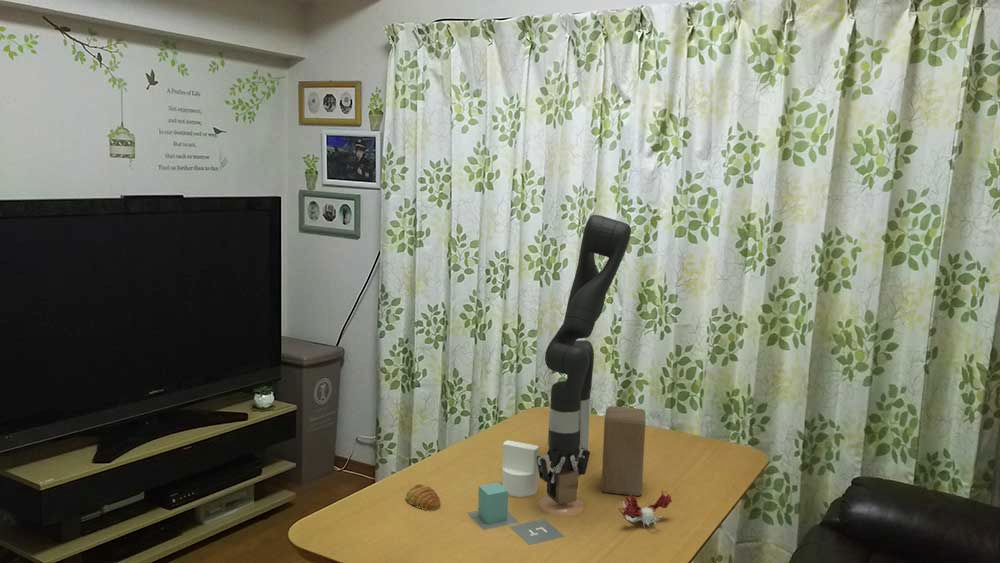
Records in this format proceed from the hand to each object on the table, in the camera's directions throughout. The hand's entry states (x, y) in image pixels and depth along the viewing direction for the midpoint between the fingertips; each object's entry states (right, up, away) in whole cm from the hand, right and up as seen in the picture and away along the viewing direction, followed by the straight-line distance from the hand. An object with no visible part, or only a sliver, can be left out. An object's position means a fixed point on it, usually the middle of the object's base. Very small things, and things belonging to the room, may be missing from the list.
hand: (562, 493), depth 172 cm
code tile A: (-7, -5, -13) cm, 15 cm away
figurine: (+18, -5, -6) cm, 19 cm away
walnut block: (0, -1, 0) cm, 1 cm away
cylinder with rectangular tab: (-10, -2, +9) cm, 13 cm away
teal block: (-17, -3, -7) cm, 18 cm away
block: (+16, -2, +12) cm, 21 cm away
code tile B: (-17, -4, -7) cm, 18 cm away
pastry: (-33, -3, +1) cm, 33 cm away
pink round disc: (0, -3, 0) cm, 3 cm away
